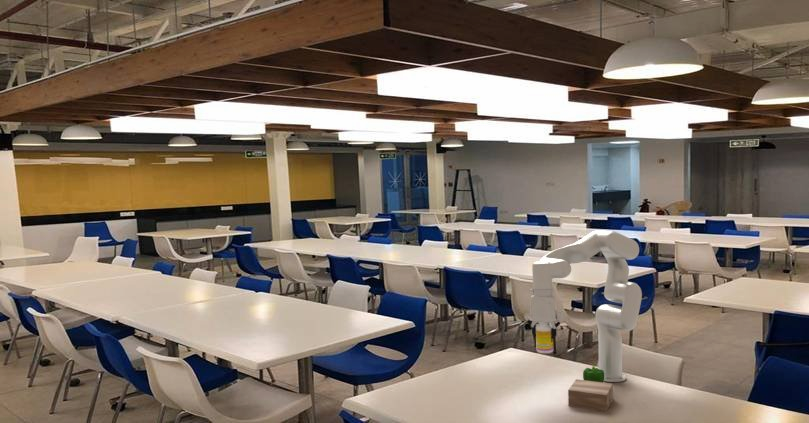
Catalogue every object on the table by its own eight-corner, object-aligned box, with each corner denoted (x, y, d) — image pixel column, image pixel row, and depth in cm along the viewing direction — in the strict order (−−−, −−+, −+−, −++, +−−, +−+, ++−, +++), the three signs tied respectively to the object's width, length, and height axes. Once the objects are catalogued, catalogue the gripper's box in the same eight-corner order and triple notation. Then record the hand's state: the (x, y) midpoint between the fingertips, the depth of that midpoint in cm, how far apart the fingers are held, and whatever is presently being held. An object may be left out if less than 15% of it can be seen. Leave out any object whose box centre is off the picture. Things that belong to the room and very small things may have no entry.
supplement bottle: (553, 353, 241) (552, 321, 240) (536, 353, 243) (535, 321, 242) (553, 349, 248) (552, 317, 247) (536, 348, 249) (535, 317, 248)
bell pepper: (587, 384, 258) (586, 360, 258) (606, 387, 253) (606, 363, 253) (580, 390, 251) (579, 365, 251) (600, 393, 247) (599, 368, 246)
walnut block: (576, 394, 247) (576, 379, 246) (612, 398, 240) (612, 383, 240) (568, 405, 234) (568, 390, 234) (606, 411, 228) (606, 395, 228)
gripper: (518, 293, 244) (520, 338, 245) (562, 295, 236) (564, 341, 237) (524, 289, 251) (525, 333, 252) (567, 291, 243) (568, 336, 244)
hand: (544, 336), depth 245 cm, fingers closed on supplement bottle, 6 cm apart
